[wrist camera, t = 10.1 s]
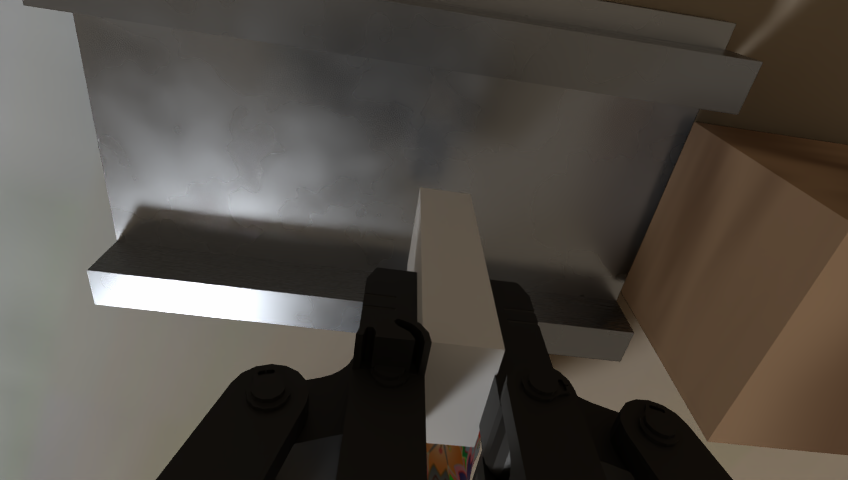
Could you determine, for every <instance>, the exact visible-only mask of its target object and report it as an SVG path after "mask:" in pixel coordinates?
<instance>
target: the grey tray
mask: <svg viewBox="0 0 848 480" xmlns="http://www.w3.org/2000/svg"><path fill="white" fill-rule="evenodd" d="M23 5H25V6H32V7H38V8H45V9H51V10H58V11H65V12H71V13H73V16H74V21H75V27H76V32H77V37H78V42H79V47H80V52H81V57H82V63H83V68H84V73H85V78H86V83H87V88H88V94H89V99H90V104H91V109H92V114H93V119H94V124H95V130H96V135H97V140H98V145H99V150H100V155H101V161H102V166H103V171H104V176H105V181H106V186H107V191H108V197H109V202H110V207H111V212H112V217H113V222H114V228H115V233H116V238H117V242H116V243H115V244H114V245H113V246H112V247H111V248H109V249H108V250H107V251H106V252H105V253H104V254H103V255H102V256H101V257H100V258H99V259H98V260H97V261H96V262H95V263H94V264H93V265H92V266H91V267H90V268H89V269H88V270H87V273H88V277H89V281H90V285H91V290H92V294H93V298H94V302H95V304H98V305H107V306H117V307H126V308H135V309H144V310H153V311H162V312H171V313H181V314H190V315H199V316H208V317H217V318H226V319H235V320H245V321H254V322H263V323H272V324H281V325H290V326H299V327H309V328H318V329H327V330H336V331H345V332H354V333H357V331H358V329H359V326H360V319H361V312H362V306H363V299H364V292H365V285H366V279H367V277H368V276H369V275H370V274H371V273H372V272H373V271H374V270H375V269H376V268H377V267H378V268H386V269H395V270H403V271H407V264H408V258H409V252H410V246H411V240H412V234H413V228H414V222H415V216H416V210H417V204H418V197H419V191H420V187H422V188H429V189H436V190H444V191H451V192H459V193H466V194H471V199H472V203H473V208H474V212H475V217H476V221H477V226H478V230H479V235H480V239H481V244H482V248H483V253H484V257H485V262H486V266H487V271H488V275H489V279H490V280H498V281H506V282H515V283H518V284H519V285H520V286H521V287H522V288H523V290H524V291H525V292H526V293H527V294H528V295H529V296H530V299H531V302H532V305H533V308H534V314H536V318H537V321H538V326H539V327H540V330H541V333H542V336H543V339H544V342H545V345H546V348H547V351H548V354H555V355H564V356H574V357H583V358H592V359H601V360H610V361H619V362H620V361H621V359H622V357H623V355H624V353H625V351H626V349H627V347H628V345H629V342H630V340H631V338H632V336H633V334H634V332H633V330H632V328H631V327H630V325H629V323H628V321H627V319H626V317H625V316H624V314H623V312H622V310H621V308H620V307H619V305H618V303H617V301H616V300H617V298H618V296H619V293H620V291H621V289H622V286H623V284H624V282H625V279H626V277H627V275H628V272H629V270H630V268H631V266H632V263H633V261H634V259H635V256H636V254H637V252H638V249H639V247H640V245H641V242H642V240H643V238H644V236H645V233H646V231H647V229H648V226H649V224H650V222H651V219H652V217H653V215H654V212H655V210H656V208H657V206H658V203H659V201H660V199H661V196H662V194H663V192H664V189H665V187H666V185H667V182H668V180H669V178H670V176H671V173H672V171H673V169H674V166H675V164H676V162H677V159H678V157H679V155H680V152H681V150H682V148H683V146H684V143H685V141H686V139H687V136H688V134H689V132H690V129H691V127H692V125H693V122H694V120H695V118H696V116H697V113H698V111H699V109H704V110H711V111H717V112H724V113H730V114H737V115H738V113H739V111H740V109H741V107H742V105H743V103H744V101H745V99H746V97H747V94H748V92H749V90H750V88H751V86H752V84H753V82H754V80H755V78H756V76H757V73H758V71H759V69H760V67H761V65H762V63H763V62H761V61H758V60H755V59H752V58H749V57H746V56H743V55H740V54H737V53H734V52H731V51H728V50H726V46H727V44H728V42H729V39H730V37H731V35H732V32H733V30H734V28H735V26H736V24H735V23H731V22H727V21H721V20H715V19H709V18H704V17H698V16H692V15H686V14H680V13H674V12H668V11H662V10H656V9H650V8H644V7H638V6H632V5H626V4H621V3H615V2H609V1H603V0H23Z"/></svg>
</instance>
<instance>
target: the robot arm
mask: <svg viewBox="0 0 848 480" xmlns="http://www.w3.org/2000/svg"><path fill="white" fill-rule="evenodd" d="M479 431H480V437H481V444H482V452H481V455H480V458H479V461H478V464H477V467H476V470H475V473H474V476H473V479H472V480H733V479H732V478H731V477H730V476H729V474H728V473H727V472H726V471H725V470H724V468H723V467H722V466H721V465H720V463H719V462H718V461H717V460H716V459H715V457H714V456H713V455H712V454H711V453H710V451H709V450H708V449H707V448H706V446H705V445H704V444H703V443H702V442H701V440H700V439H699V438H698V437H697V436H696V434H695V433H694V432H693V431H692V429H691V428H690V427H689V426H688V425H687V424H686V423H685V422H684V421H683V420H682V419H681V418H680V417H679V416H678V415H677V414H676V413H674V412H673V411H671V410H669V409H668V408H666V407H664V406H663V405H660V404H658V403H655V402H652V401H649V400H637V399H635V400H632V401H630V402H627V403H625V405H624V406H623V407H622V409H621V410H620V412H619V413H618V412H616V411H613V410H610V409H607V408H604V407H602V406H599V405H596V404H593V403H591V402H588V401H586V400H584V399H582V398H580V397H578V396H577V394H576V392H575V390H574V388H573V386H572V385H571V383H570V381H569V380H568V379H567V378H566V377H565V376H563V375H562V374H561V373H560V372H559V371H557V370H555V369H553V367H552V363H551V360H550V357H549V354H548V351H547V348H546V345H545V342H544V339H543V336H542V333H541V330H540V327H539V326H538V321H537V318H536V314H534V308H533V305H532V302H531V299H530V296H529V295H528V294H527V293H526V292H525V291H524V290H523V288H522V287H521V286H520V285H519V284H518V283H515V282H506V281H498V280H490V279H489V275H488V271H487V266H486V262H485V257H484V253H483V248H482V244H481V239H480V235H479V230H478V226H477V221H476V217H475V212H474V208H473V203H472V199H471V194H466V193H459V192H451V191H444V190H436V189H429V188H422V187H420V191H419V197H418V204H417V210H416V216H415V222H414V228H413V234H412V240H411V246H410V252H409V258H408V264H407V271H403V270H395V269H386V268H378V267H377V268H376V269H375V270H374V271H373V272H372V273H371V274H370V275H369V276H368V277H367V279H366V285H365V292H364V299H363V306H362V312H361V319H360V326H359V329H358V331H357V333H356V340H355V349H354V357H353V359H352V360H351V362H350V363H349V364H348V365H347V366H346V367H345V368H343V369H342V370H341V371H339V372H337V373H334V374H332V375H329V376H325V377H321V378H316V379H310V380H305V379H304V378H303V377H302V375H301V374H300V373H299V372H298V371H296V370H293V369H291V368H289V367H287V366H282V365H274V364H269V365H263V366H256V367H254V368H252V369H250V370H247V371H245V372H243V373H241V374H240V375H239V376H238V377H237V378H236V379H235V380H234V381H232V382H231V384H230V385H229V386H228V388H227V389H226V390H225V391H224V393H223V394H222V395H221V397H220V398H219V399H218V400H217V402H216V403H215V404H214V406H213V407H212V408H211V409H210V411H209V412H208V413H207V415H206V416H205V417H204V418H203V420H202V421H201V422H200V424H199V425H198V426H197V427H196V429H195V430H194V431H193V433H192V434H191V435H190V437H189V438H188V439H187V440H186V442H185V443H184V444H183V446H182V447H181V448H180V449H179V451H178V452H177V453H176V455H175V456H174V457H173V458H172V460H171V461H170V462H169V464H168V465H167V466H166V467H165V469H164V470H163V471H162V473H161V474H160V475H159V476H158V478H157V479H156V480H427V449H426V443H433V444H444V445H455V446H466V447H474V446H475V443H476V440H477V437H478V434H479Z"/></svg>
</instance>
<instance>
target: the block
mask: <svg viewBox="0 0 848 480" xmlns="http://www.w3.org/2000/svg"><path fill="white" fill-rule="evenodd" d="M621 293H622V294H623V296H624V298H625V300H626V301H627V303H628V305H629V307H630V308H631V310H632V312H633V314H634V315H635V317H636V319H637V320H638V322H639V324H640V326H641V327H642V329H643V331H644V333H645V334H646V336H647V338H648V339H649V341H650V343H651V345H652V346H653V348H654V350H655V352H656V353H657V355H658V357H659V359H660V360H661V362H662V364H663V365H664V367H665V369H666V371H667V372H668V374H669V376H670V378H671V379H672V381H673V383H674V385H675V386H676V388H677V390H678V391H679V393H680V395H681V397H682V398H683V400H684V402H685V404H686V405H687V407H688V409H689V410H690V412H691V414H692V416H693V417H694V419H695V421H696V423H697V424H698V426H699V428H700V430H701V431H702V433H703V435H704V436H705V438H706V440H707V441H708V442H718V443H728V444H738V445H749V446H759V447H769V448H779V449H790V450H800V451H810V452H820V453H831V454H841V455H848V145H845V144H838V143H831V142H825V141H818V140H812V139H805V138H798V137H792V136H785V135H778V134H772V133H765V132H759V131H752V130H745V129H739V128H732V127H725V126H719V125H712V124H706V123H699V122H694V124H693V126H692V128H691V131H690V133H689V135H688V138H687V140H686V142H685V144H684V147H683V149H682V151H681V154H680V156H679V158H678V161H677V163H676V165H675V167H674V170H673V172H672V174H671V177H670V179H669V181H668V184H667V186H666V188H665V191H664V193H663V195H662V197H661V200H660V202H659V204H658V207H657V209H656V211H655V214H654V216H653V218H652V221H651V223H650V225H649V227H648V230H647V232H646V234H645V237H644V239H643V241H642V244H641V246H640V248H639V250H638V253H637V255H636V257H635V260H634V262H633V264H632V267H631V269H630V271H629V274H628V276H627V278H626V280H625V283H624V285H623V287H622V290H621Z"/></svg>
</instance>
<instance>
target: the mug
mask: <svg viewBox="0 0 848 480" xmlns="http://www.w3.org/2000/svg"><path fill="white" fill-rule="evenodd" d="M480 442H481V437H480V431H479V434H478V437H477V440H476V443H475V446H474V447H466V446H455V445H444V444H433V443H426V449H427V480H470V475H471V470H472V467H473V464H474V461H475V459H476V457H477V455H478V452H479V448H480Z"/></svg>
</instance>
